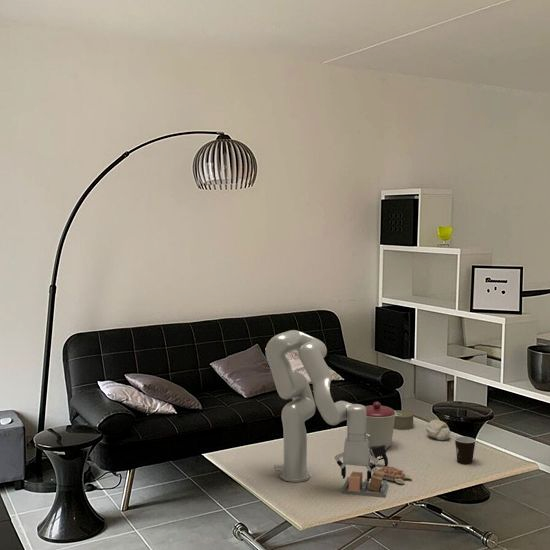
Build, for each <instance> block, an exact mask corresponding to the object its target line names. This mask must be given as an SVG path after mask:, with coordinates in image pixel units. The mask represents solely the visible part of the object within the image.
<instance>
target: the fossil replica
mask: <svg viewBox="0 0 550 550" xmlns="http://www.w3.org/2000/svg"><path fill="white" fill-rule="evenodd" d="M425 431H426V433H427V434H428V435H429V437H430V438H433V439H436V440H437V441H444V440H448V439H449V438H450V435H451V431H450V427H449V426H448V424H447V423H446V422H444V421H442V420H440V419H433V420H430V421H429V423H428V425H427V426H426V427H425Z"/></svg>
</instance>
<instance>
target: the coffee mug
mask: <svg viewBox="0 0 550 550" xmlns="http://www.w3.org/2000/svg"><path fill="white" fill-rule="evenodd" d="M454 443H455V452H456V453H455V454H456V463H458V464H460V465H465V466H466V465H471V464H473V461H474V460H473V459H474V453H475V448H476V447H475V445H476V439H475V438H473V437H469V436H457V437H455V438H454Z"/></svg>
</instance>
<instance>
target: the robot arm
mask: <svg viewBox="0 0 550 550" xmlns="http://www.w3.org/2000/svg"><path fill="white" fill-rule="evenodd" d="M294 351H296V352H298V353H297V354H298V357H299V359H300V362H301V364H302V365H303V368H304V370H305V371H306V373H307V375H308V377H309V380H310V381H311V383H312V390H313V393H312V390H311V387H310V383H309V380H308V378H307V377H306V376H305V375H304V374H303V373H302V372H299V371H294V370H293V367H292V365H291V363H290V360H289V359H288V357H287V356H286V355H287V354H288V353H292V352H294ZM327 352H328V349H327V347H326V345H325V343H324V342H323V341H321V340H320V339H319V338H316V337H313V336H311V335H309V334H307V333H305V332H303V331H299V330H296V329H292V330H291V329H290V330H288V331H284V332H281V333H278V334H276V335H274V336H272V337H271V339H270V340H269V341H268V342H267V344H266V346H265V357H266V360H267V363H268V365H269V369H270V372H271V374H272V378H273V379H272V380H273V381H274V385H275V388H276V391H277V393H278V396H279V397H280V398H281V399H283V400H290V399H292V401H290V402H288V403H286V404H285V405H284V406H283V408H282V410H281V422H282V428H283V430H282V431H283V434H282V435H283V464H274V465H273V469H274V470H275V472H280V473H279V477H280V478H281V480H282V481H285V482H289V483H290V482H292V483H299V482H300V483H301V482H305V481H308V480H309V479H310V478H311V472H310V471H308V467H307V465H308V463H307V462H308V459H307V458H308V453H307V452H308V448H307V447H308V445H307V444H308V438H307V435H308V434H307V429H306V425H305V422H306V421H307V420H309V419H310V418H312V417H313V416H314V415H315V413H316V408H317V410H318V412H319V414H320V415H321V417H322V419H323V420H324V421H325V423H326V424H328V425H330V426H336V425H338V424H340V423H341V422H344V421H346V438H345V439H344V445H343V452H340V453H338V454H336V455H334V459H335V461H336V464H337V465H338V466H339V468H340V470H341V473H340V474H341V476H342V479H345V478H346V477H347V476H346V475H347V473H346V472H347V467H346V466H347V465H348V466H355V467H365V468H366V469H367V471H366V479H367V481H369V482H370V481H371V477H372V472H373V469H374V468H377V467H376V466H377V465H378V463H379V461H380V460H378V459H379V458H378V457H377V458H375V457H373V456H372V455H370V448H369V441H368V439H367V438H370V435H369V434H367V432H366V407H365V406H366V405H363V404H359V403H350V402H349V401H345V400H339V401H336V402H334V400H333V397H332V394H331V389H330V388H331V382H332V372H331V371H330V369H329V366H328V365H327V363H326V361H325V359H324V358H325V357H326V356H327V354H328V353H327ZM340 458H342V459H343V460H342V461H341V459H340ZM371 461H372V462H373V463H372V464H371V463H370V462H371ZM341 476H340V477H341Z"/></svg>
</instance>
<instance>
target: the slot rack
mask: <svg viewBox="0 0 550 550" xmlns="http://www.w3.org/2000/svg"><path fill="white" fill-rule="evenodd" d="M349 477H350V476H348V477H347V478H346V480H345V482H344V484H343V486H342V489H341V491H340V492H341V494H348V495H349V494H350V495H359V496H365V497H366V496H369V497H376V498H377V497H378V498H386V496H387V494H388V490H389V487H390V485H389V484H388V480H382V481H383V483H381V486H380V489H379V492H377V491H374V490H371V489H368V488H369V485H370V480H369V481H367V478H365V479H364V481H362V487H361V489H360V491H350V490H349Z"/></svg>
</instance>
